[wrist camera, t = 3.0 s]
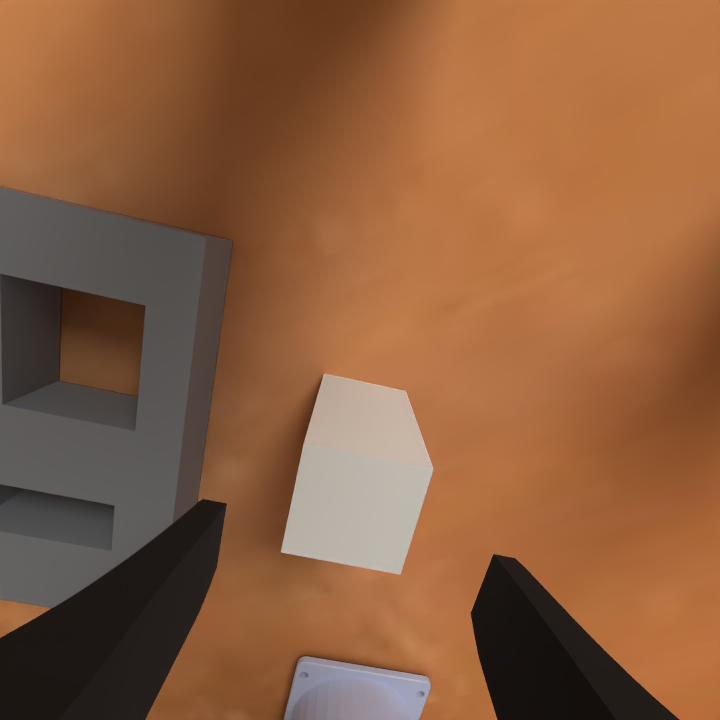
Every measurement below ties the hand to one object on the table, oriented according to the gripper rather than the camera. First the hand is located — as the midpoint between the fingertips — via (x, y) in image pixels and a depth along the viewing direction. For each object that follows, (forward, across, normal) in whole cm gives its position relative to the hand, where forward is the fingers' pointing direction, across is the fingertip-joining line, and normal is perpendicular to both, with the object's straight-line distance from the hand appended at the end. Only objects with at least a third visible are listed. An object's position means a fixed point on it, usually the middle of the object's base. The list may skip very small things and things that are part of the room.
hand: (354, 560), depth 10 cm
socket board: (+9, +12, +2) cm, 16 cm away
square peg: (+9, 0, 0) cm, 9 cm away
